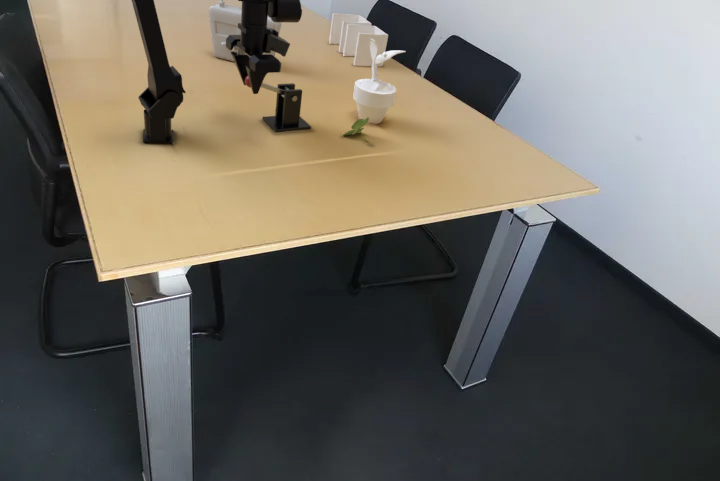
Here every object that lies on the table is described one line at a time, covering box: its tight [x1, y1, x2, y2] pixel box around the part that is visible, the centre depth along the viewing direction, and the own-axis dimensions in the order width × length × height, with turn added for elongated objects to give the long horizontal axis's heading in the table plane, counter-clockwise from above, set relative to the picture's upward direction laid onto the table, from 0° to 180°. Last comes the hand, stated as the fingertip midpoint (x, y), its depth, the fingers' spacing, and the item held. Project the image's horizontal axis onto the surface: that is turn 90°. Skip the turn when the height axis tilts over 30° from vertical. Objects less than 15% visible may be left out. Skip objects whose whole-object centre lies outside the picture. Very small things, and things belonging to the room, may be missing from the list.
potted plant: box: [352, 35, 407, 125], centre depth 151 cm, size 13×12×25 cm
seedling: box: [342, 117, 370, 144], centre depth 144 cm, size 7×8×6 cm
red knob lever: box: [245, 76, 293, 98], centre depth 137 cm, size 14×3×3 cm, turn 122°
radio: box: [208, 0, 282, 63], centre depth 174 cm, size 22×8×25 cm, turn 76°
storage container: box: [328, 12, 389, 67], centre depth 205 cm, size 25×11×11 cm, turn 24°
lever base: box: [261, 82, 312, 133], centre depth 142 cm, size 10×8×10 cm
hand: (250, 89), depth 134 cm, fingers open, 5 cm apart
